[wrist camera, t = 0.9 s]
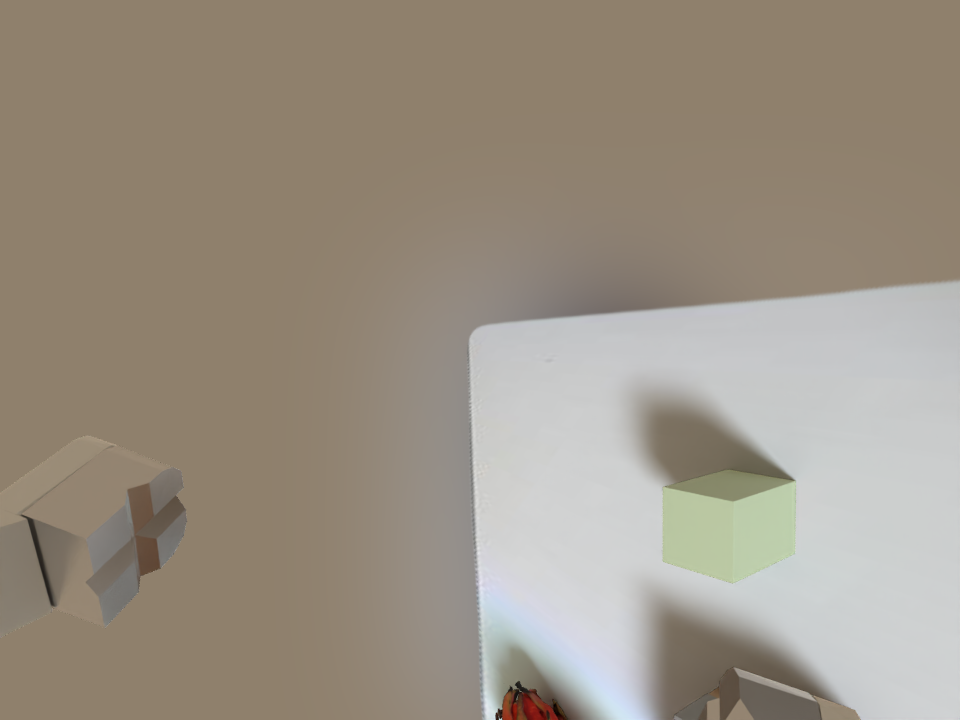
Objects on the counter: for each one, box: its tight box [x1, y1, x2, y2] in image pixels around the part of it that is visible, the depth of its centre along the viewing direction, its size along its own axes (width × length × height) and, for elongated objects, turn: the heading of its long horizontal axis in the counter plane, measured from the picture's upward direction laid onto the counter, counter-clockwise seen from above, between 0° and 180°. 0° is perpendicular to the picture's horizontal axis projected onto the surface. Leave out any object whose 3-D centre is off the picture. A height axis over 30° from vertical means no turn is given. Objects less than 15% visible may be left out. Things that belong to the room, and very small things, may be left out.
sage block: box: [663, 469, 796, 583], centre depth 45 cm, size 5×5×8 cm
